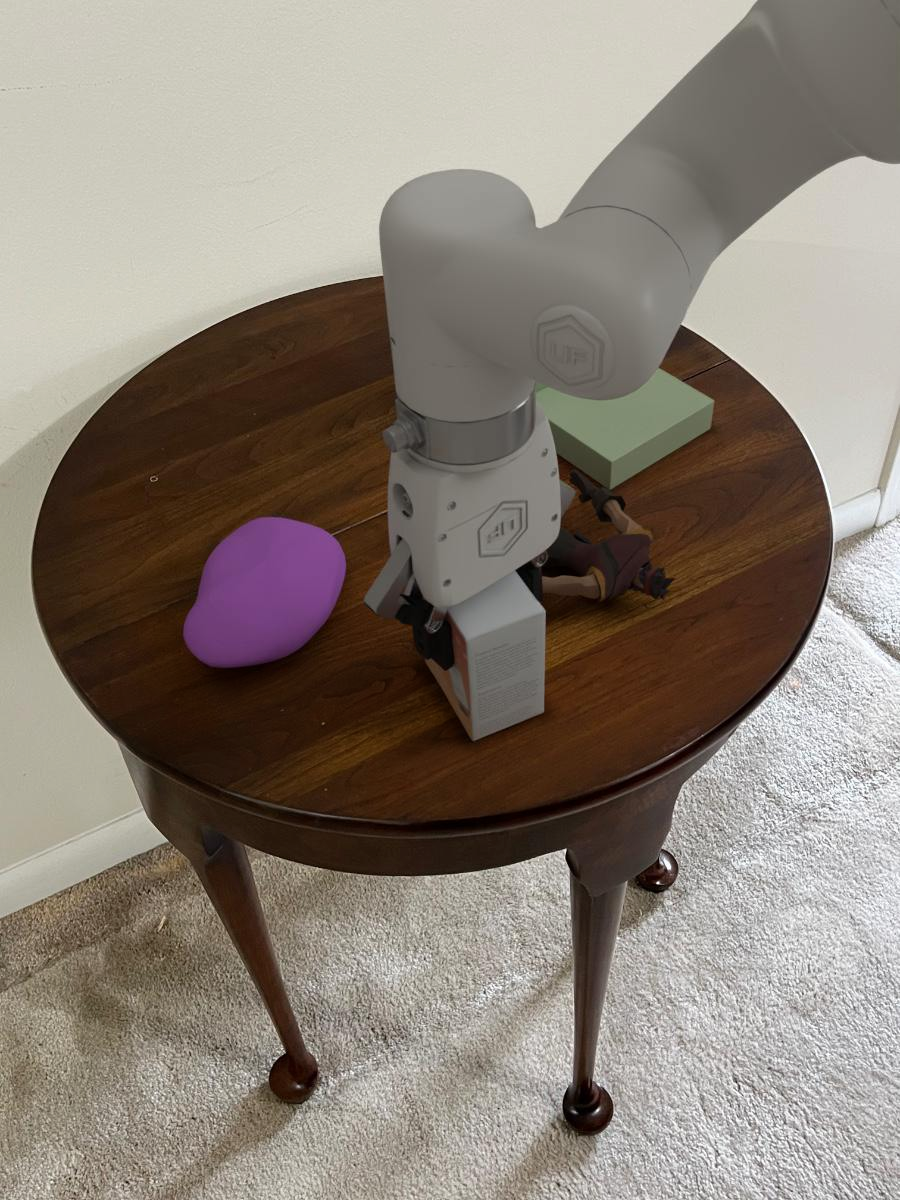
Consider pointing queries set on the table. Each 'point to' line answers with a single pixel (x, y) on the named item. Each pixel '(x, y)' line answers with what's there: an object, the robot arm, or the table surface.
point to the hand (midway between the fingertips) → (478, 627)
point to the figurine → (604, 554)
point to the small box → (495, 657)
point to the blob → (264, 593)
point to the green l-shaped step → (625, 426)
